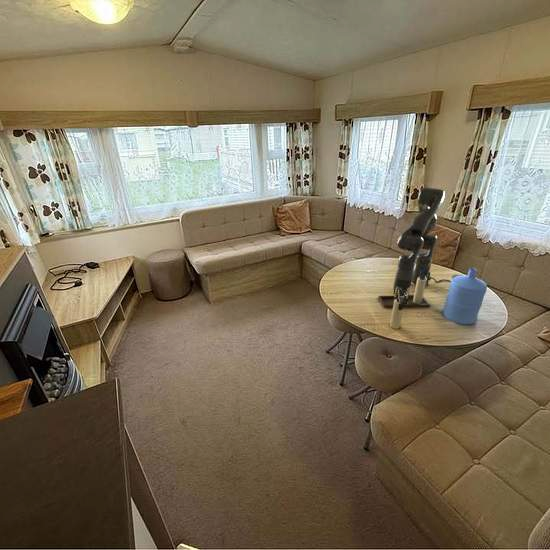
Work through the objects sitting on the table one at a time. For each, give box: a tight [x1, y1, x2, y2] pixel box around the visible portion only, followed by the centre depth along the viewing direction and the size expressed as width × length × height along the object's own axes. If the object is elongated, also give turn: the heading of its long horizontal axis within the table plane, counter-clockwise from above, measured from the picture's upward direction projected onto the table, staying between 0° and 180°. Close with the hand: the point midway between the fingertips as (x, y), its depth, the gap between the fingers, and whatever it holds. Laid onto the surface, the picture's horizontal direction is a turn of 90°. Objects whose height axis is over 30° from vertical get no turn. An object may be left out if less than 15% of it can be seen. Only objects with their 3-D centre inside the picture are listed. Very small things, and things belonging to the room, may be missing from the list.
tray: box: [377, 294, 431, 309], centre depth 172 cm, size 26×11×2 cm, turn 90°
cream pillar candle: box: [389, 297, 404, 330], centre depth 150 cm, size 5×5×16 cm
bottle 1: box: [400, 283, 412, 303], centre depth 169 cm, size 5×5×16 cm
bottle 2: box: [413, 275, 427, 304], centre depth 169 cm, size 5×5×16 cm
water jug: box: [442, 267, 488, 325], centre depth 153 cm, size 16×16×28 cm
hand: (398, 306), depth 148 cm, fingers closed on cream pillar candle, 4 cm apart
